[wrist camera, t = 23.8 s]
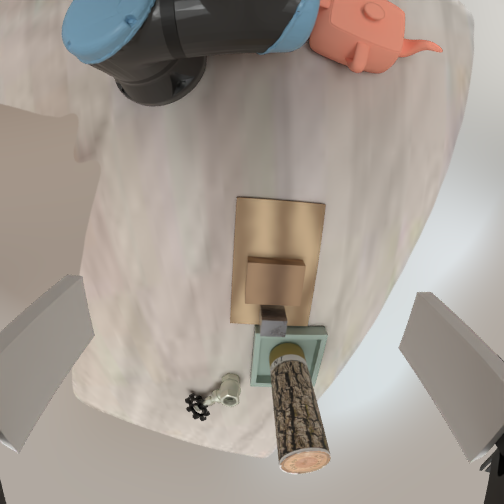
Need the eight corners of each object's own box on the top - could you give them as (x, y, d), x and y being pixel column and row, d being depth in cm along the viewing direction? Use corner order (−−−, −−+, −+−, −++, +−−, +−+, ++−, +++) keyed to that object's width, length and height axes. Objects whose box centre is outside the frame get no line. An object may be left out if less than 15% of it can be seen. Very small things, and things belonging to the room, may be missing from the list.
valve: (227, 365, 55) (187, 389, 57) (226, 387, 48) (182, 410, 50) (248, 383, 56) (208, 405, 58) (249, 405, 50) (205, 426, 52)
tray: (250, 376, 55) (250, 386, 52) (255, 324, 51) (255, 333, 49) (311, 377, 56) (314, 386, 53) (324, 326, 52) (327, 334, 49)
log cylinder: (306, 342, 52) (337, 448, 28) (299, 368, 54) (322, 472, 30) (271, 339, 52) (285, 451, 28) (266, 367, 54) (275, 474, 30)
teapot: (283, 24, 36) (294, -16, 23) (352, -2, 33) (378, -37, 21) (341, 101, 40) (374, 82, 28) (406, 68, 38) (447, 49, 25)
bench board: (230, 320, 51) (230, 322, 50) (237, 196, 45) (236, 197, 44) (306, 323, 52) (307, 326, 51) (324, 204, 45) (325, 204, 44)
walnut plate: (244, 295, 49) (244, 303, 46) (247, 256, 47) (247, 262, 44) (297, 298, 49) (300, 306, 46) (302, 259, 47) (305, 266, 44)
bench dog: (258, 317, 50) (260, 336, 44) (260, 302, 49) (261, 320, 44) (281, 318, 50) (285, 337, 45) (283, 303, 49) (287, 321, 44)
